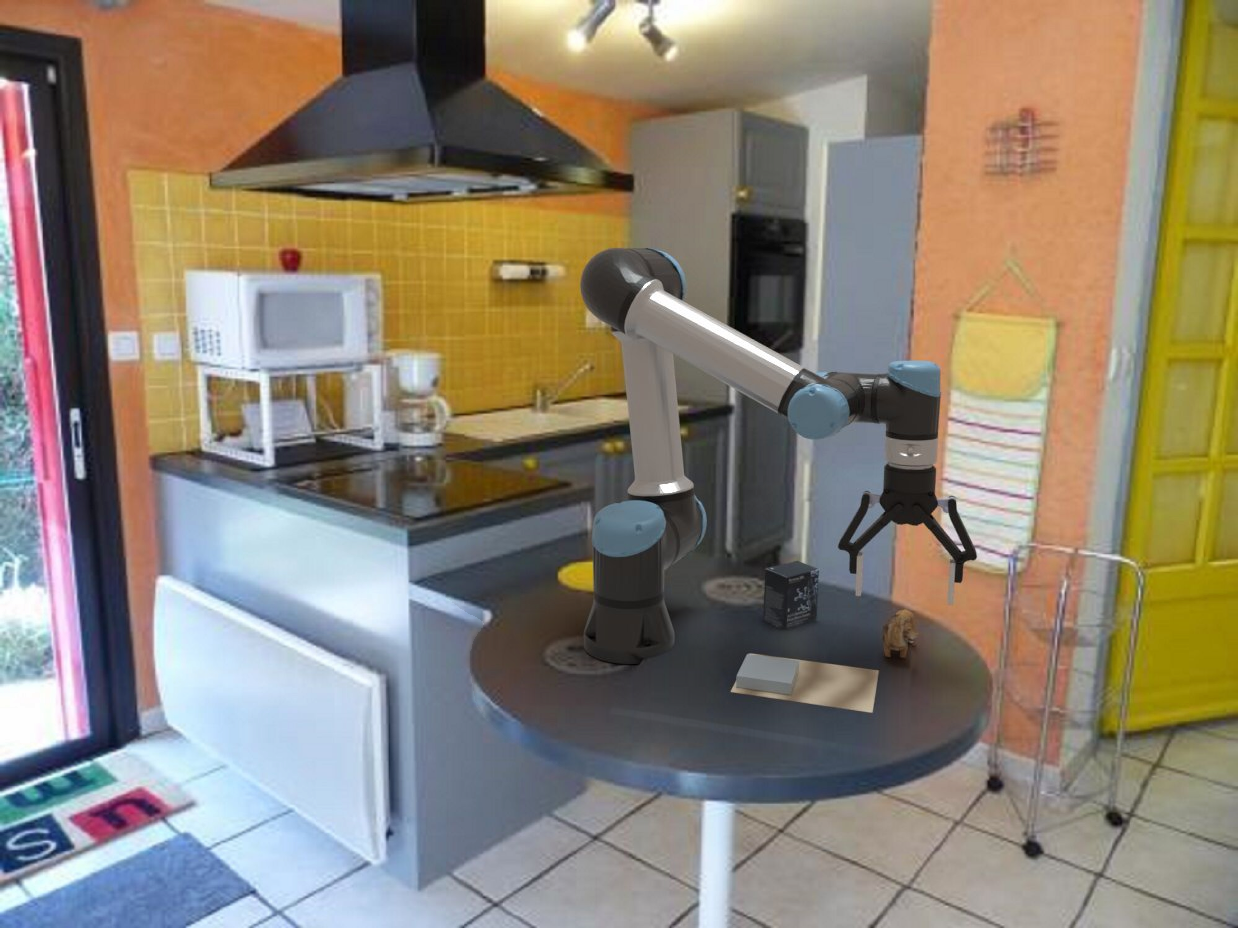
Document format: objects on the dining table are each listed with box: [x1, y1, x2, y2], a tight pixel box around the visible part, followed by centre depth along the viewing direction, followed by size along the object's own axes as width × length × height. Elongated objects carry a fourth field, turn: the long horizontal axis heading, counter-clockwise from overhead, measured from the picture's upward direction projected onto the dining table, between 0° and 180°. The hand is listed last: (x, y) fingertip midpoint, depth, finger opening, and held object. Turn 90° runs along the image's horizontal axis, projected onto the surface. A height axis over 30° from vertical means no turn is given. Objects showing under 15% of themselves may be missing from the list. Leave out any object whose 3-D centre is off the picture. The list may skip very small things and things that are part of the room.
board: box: [730, 653, 880, 714], centre depth 136 cm, size 20×14×1 cm
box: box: [762, 560, 820, 631], centre depth 158 cm, size 8×6×11 cm
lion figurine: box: [882, 609, 919, 659], centre depth 145 cm, size 15×5×9 cm, turn 162°
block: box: [735, 653, 799, 695], centre depth 136 cm, size 8×2×8 cm
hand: (903, 597), depth 141 cm, fingers open, 13 cm apart
